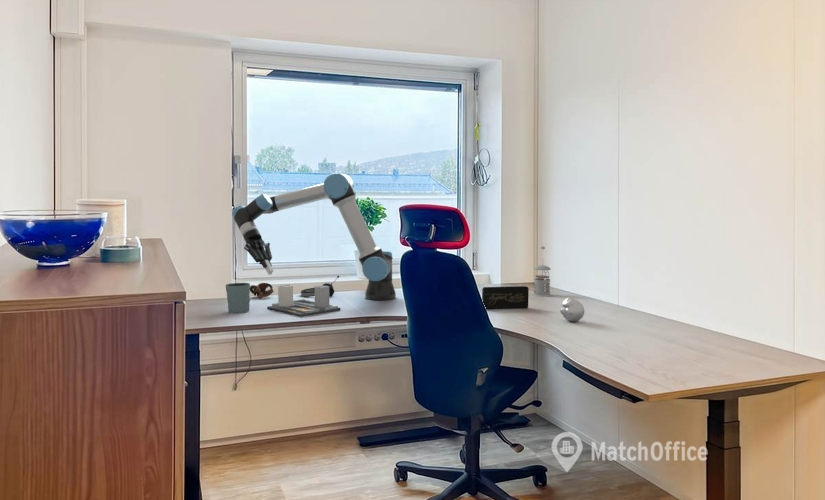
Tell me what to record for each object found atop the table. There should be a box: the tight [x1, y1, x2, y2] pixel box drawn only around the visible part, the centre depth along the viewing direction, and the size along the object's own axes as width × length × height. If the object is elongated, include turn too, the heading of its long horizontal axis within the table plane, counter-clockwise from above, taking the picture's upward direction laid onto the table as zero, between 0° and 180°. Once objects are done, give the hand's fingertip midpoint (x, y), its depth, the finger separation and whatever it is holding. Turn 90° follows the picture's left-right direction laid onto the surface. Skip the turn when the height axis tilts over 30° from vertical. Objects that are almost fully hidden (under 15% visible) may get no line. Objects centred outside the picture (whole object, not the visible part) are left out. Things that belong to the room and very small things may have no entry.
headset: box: [300, 275, 340, 298], centre depth 302 cm, size 14×10×20 cm
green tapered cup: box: [225, 282, 251, 314], centre depth 257 cm, size 10×10×12 cm
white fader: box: [277, 284, 294, 307], centre depth 263 cm, size 4×5×9 cm
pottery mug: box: [250, 282, 275, 300], centre depth 295 cm, size 12×10×8 cm
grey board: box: [266, 298, 341, 318], centre depth 262 cm, size 25×21×2 cm
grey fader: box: [314, 285, 330, 308], centre depth 262 cm, size 4×5×9 cm
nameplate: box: [481, 285, 530, 311], centre depth 266 cm, size 21×2×10 cm, turn 100°
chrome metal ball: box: [559, 296, 585, 323], centre depth 238 cm, size 9×10×10 cm
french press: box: [532, 245, 552, 298], centre depth 305 cm, size 10×12×25 cm
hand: (270, 272), depth 269 cm, fingers closed
